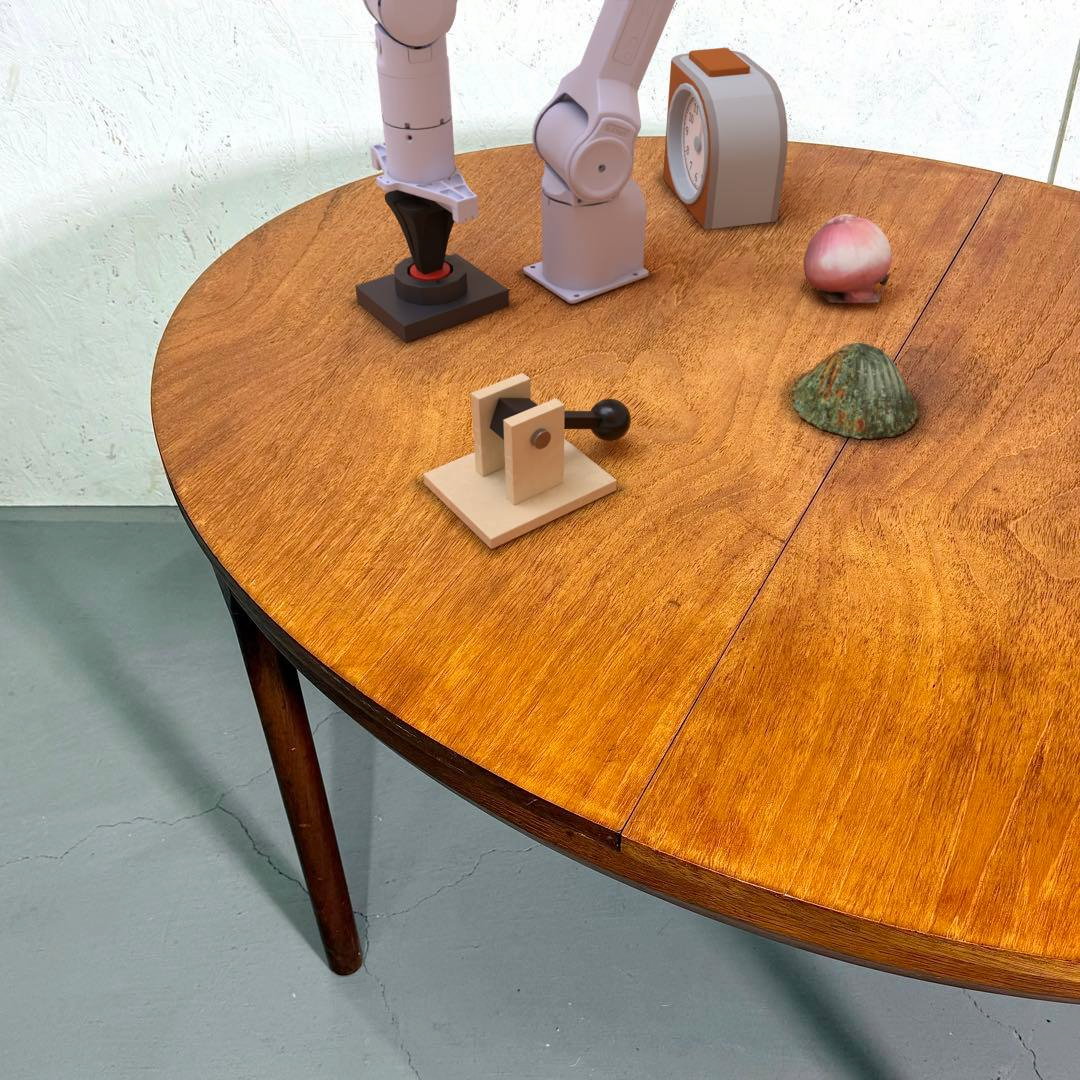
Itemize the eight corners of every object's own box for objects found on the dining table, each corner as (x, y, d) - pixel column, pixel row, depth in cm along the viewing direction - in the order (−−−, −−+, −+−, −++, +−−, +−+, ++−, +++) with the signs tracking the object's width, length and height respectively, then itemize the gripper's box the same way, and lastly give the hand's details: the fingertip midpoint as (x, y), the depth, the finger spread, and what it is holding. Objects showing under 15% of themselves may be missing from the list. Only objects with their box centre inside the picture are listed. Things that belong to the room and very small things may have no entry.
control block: (457, 269, 103) (455, 235, 101) (509, 306, 98) (508, 271, 96) (357, 302, 99) (352, 267, 96) (406, 343, 93) (402, 307, 91)
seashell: (793, 379, 81) (812, 317, 88) (781, 423, 83) (800, 359, 90) (927, 412, 79) (935, 346, 86) (910, 456, 81) (919, 388, 89)
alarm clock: (655, 173, 120) (663, 47, 111) (726, 166, 122) (739, 40, 113) (701, 230, 109) (714, 95, 100) (778, 221, 111) (797, 87, 102)
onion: (851, 266, 103) (865, 195, 98) (903, 301, 98) (921, 228, 93) (782, 284, 101) (794, 212, 96) (833, 321, 95) (848, 247, 91)
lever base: (544, 432, 83) (544, 345, 78) (616, 490, 78) (621, 401, 72) (423, 484, 78) (414, 395, 73) (491, 550, 73) (486, 459, 68)
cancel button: (438, 273, 99) (436, 255, 98) (458, 288, 97) (457, 270, 96) (404, 284, 97) (402, 266, 96) (424, 299, 95) (423, 282, 94)
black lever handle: (604, 428, 83) (618, 391, 81) (630, 448, 81) (645, 410, 79) (483, 429, 75) (495, 388, 73) (508, 451, 73) (522, 410, 71)
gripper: (332, 102, 90) (352, 251, 99) (420, 156, 81) (433, 314, 90) (404, 85, 93) (417, 231, 102) (497, 135, 84) (502, 290, 93)
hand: (429, 269), depth 96 cm, fingers closed, pressing on cancel button
